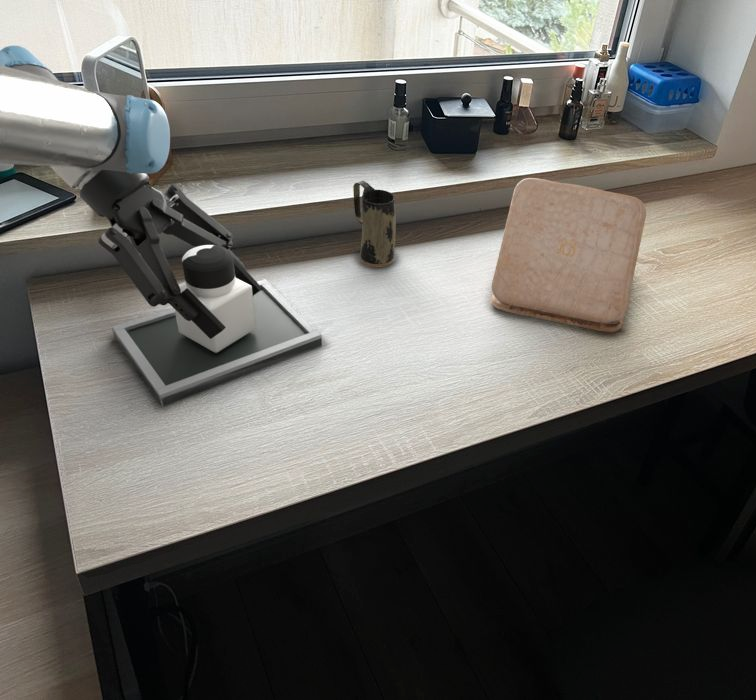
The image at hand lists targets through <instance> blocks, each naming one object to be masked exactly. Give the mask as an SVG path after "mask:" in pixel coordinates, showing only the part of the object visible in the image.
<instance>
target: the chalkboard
mask: <svg viewBox="0 0 756 700" xmlns="http://www.w3.org/2000/svg"><path fill="white" fill-rule="evenodd" d="M256 282H257V283H258V284H259V285H260V286H261V287H262V289H261V290H260V291H259V292H258V293H256V294H255V295H254V296H253V303H254V313H255V323H256V329H254V330H253V331H251V332H250V333H248V334H246V335H245V336H243V337H242V338H240V339H238V340H237V341H235V342H234V343H232V344H230V345H229V346H227V347H225V348H224V349H222V350H221V351H219V352H217V353H215V352H213V351H211V350H209V349H208V348H206V347H204V346H202V345H201V344H199V343H197V342H195V341H193V340H192V339H190V338H188V337H186V336H185V335H183V334H181V333H180V332H179V330H178V325H177V319H176V314H175V309H174V308H173V307H170V308H167V309H163V310H160V311H158V312H154V313H151V314H148V315H144V316H141V317H138V318H135V319H131V320H128V321H124V322H121V323H119V324H115V325H112V326H111V330H112V334H113V338H114V340H115V341H116V343H117V344H118V345H119V347H120V349H121V350H122V351H123V353H124V354H125V355H126V357H127V358H128V360H129V361H130V363H131V365H132V366H133V367H134V368H135V370H136V371H137V373H138V375H139V376H140V377H141V378H142V380H143V381H144V383H145V385H146V386H147V387H148V389H149V390H150V391H151V393H152V394H153V396H154V397H155V398H156V400H157V401H158V403H159V404H160V406H161V407H163V408H164V407H166V406H169V405H171V404H175V403H177V402H179V401H182V400H184V399H187V398H190V397H192V396H195V395H198V394H201V393H203V392H206V391H208V390H210V389H213V388H216V387H219V386H221V385H224V384H226V383H228V382H231V381H234V380H236V379H239V378H242V377H244V376H247V375H250V374H252V373H255V372H258V371H260V370H262V369H265V368H268V367H271V366H274V365H275V364H279V363H280V362H284V361H287V360H289V359H291V358H294V357H297V356H300V355H302V354H304V353H307V352H310V351H313V350H315V349H317V348H320V347H322V346H323V334H322V333H321V332H320V331H319V330H318V329H317V328H316V327H315V326H314V325H313V324H312V323H311V322H310V321H309V320H308V319H306V317H305V316H304V315H303V314H301V312H299V310H298V309H296V307H295V306H294V305H292V304H291V303H290V302H289V301H288V299H287V298H285V297H284V296H283V295H282V294H281V293H280V291H278V290H277V289H276V287H274V285H272V284H271V283H270V282H269V281H268V280H267V279H266V278H264V279H260V280H257V281H256Z"/></svg>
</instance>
